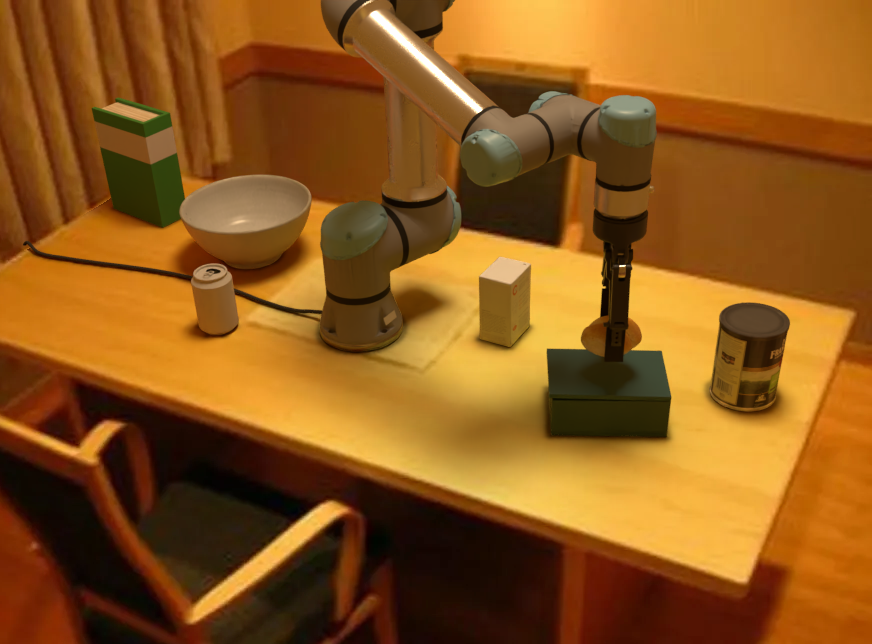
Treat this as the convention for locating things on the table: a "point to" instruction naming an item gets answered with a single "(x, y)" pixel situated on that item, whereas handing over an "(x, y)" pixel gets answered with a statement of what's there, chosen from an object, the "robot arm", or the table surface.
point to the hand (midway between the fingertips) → (610, 342)
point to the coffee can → (748, 356)
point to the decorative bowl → (247, 218)
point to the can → (214, 299)
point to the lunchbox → (608, 417)
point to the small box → (504, 301)
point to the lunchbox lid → (607, 376)
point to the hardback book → (140, 161)
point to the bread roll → (596, 336)
